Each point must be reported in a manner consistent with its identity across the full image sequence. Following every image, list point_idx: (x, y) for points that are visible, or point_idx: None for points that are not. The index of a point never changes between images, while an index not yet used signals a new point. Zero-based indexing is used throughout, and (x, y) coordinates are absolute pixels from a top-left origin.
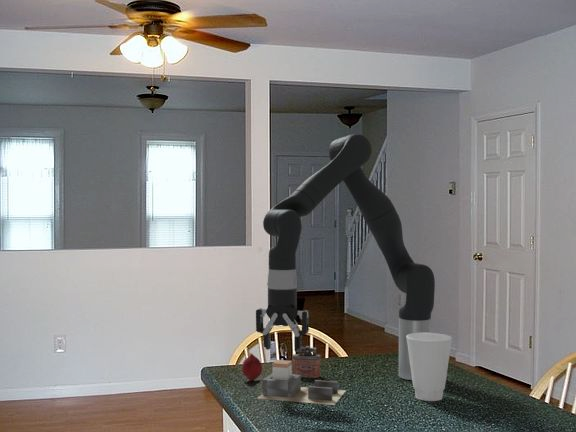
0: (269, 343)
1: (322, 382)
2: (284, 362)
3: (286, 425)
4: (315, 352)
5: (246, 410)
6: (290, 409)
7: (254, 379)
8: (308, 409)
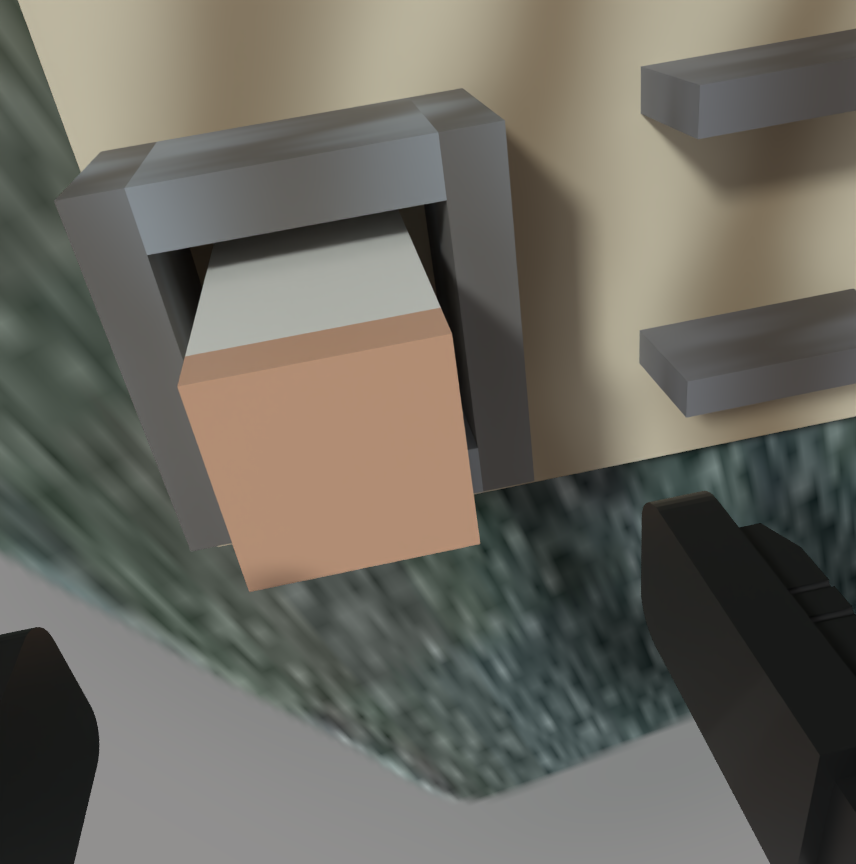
0: (39, 776)
1: (793, 118)
2: (391, 480)
3: (610, 727)
4: None
5: (245, 649)
6: (525, 498)
7: None
8: None
